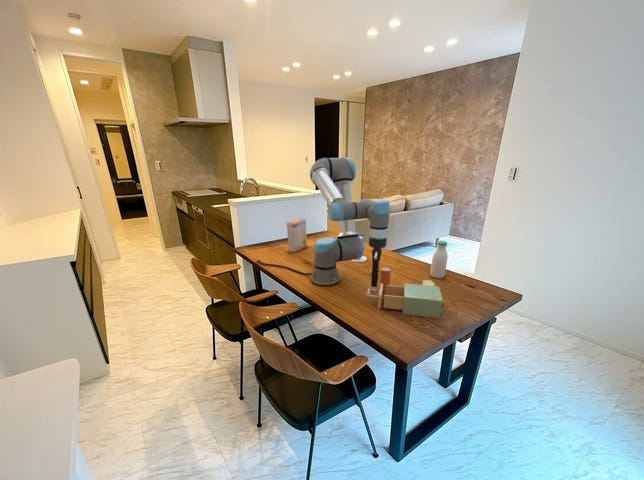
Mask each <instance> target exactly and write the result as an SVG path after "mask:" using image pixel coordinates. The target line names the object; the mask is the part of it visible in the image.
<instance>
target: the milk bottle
mask: <svg viewBox="0 0 644 480" xmlns="http://www.w3.org/2000/svg"><path fill="white" fill-rule="evenodd" d="M447 246H448V242H447V241H445V240H439V241H438V242H437V248H436V249H435V251H434V252H433V255H432V258H431V266H430V271H429V276H430V277H431V278H435V279H443V278H444V277H445V275H446V270H447V265H448V264H447V263H448V258H449V257H448V252H447Z"/></svg>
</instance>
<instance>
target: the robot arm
mask: <svg viewBox="0 0 644 480" xmlns="http://www.w3.org/2000/svg"><path fill="white" fill-rule="evenodd" d="M356 174H357V171H356V165H355V163H354V161H353V160H352V158H350V157H343V156H342V157H322V158H319V159H318V160H316V161H315V162H313V164H312V165H311V167H310V171H309V179H310V180H311V183H312V184H313V185H314V186H315V187H317V188H318V190H319V192H320V194H321V195H322V197H323V199H324V200H325V202H326V204H327V205H328V206H327V216H328V219H329V220H330V221H331V222H338V223H337V224H338V232H339V233H338V234H337V236H336V237H332V236H327V237H326V236H325V237H321V238H318V239H317V240H316V241H315V243H314V244H313V245H314V247H313V255H314V256H313V257H314V258H313V259H314V268H313V271H312V272H304V271H303V272H302V271H300V270H297V269H294V268H292V267H289V266H285V265H281V264H274V263H266V262H262V260H260V259H258V260H256V263H260V264H261V265H264V266H271V267H279V268H284V269H288V270H290V271H292V272H296V273H298V274H301V275H304V276H311V283H312V284H314V285H316V286H318V287H332V286H335V285H337V284H338V283H339V282H340V275H339V271H338V268H337V263H340V262H347V261H351V260H355V259H359V258H361V257H362V256H364V252H365V242H364V241H363V240H364V238H363V239H362V238H360V237H359V233H358V232H357V231H356V225H355V223H356V222H355V220H365V219H366V220H369V232H368V236H369V237H368V247H370V248H372V250H371V256H372V257H371V260H372V266H371V272H370V275H371V283H370V287H372V288H378V283H379V282H378V281H379V273H380V274H381V270H379V269H380V261H381V257H382V251H383V249H384V248H386V247H387V241H388V238H387V237H388V233H390V230H389V221H390V213H391V203H390V201H389V200H387V199H382V198H381V199H379V198H377V199H373V200H370V199H368V198H363V199H361V200H359V201H353V197H352V190H351V186H352V184H353V183H354V182H353V181H354V180H355V179H356V176H357V175H356Z"/></svg>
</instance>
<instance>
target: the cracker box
mask: <svg viewBox="0 0 644 480" xmlns="http://www.w3.org/2000/svg"><path fill="white" fill-rule="evenodd" d="M286 232H287V233H286V234H287V247H288V252H290V253H294V254H295V253H298V252H299V251H302V250H304V249H306V248H307V247H308V241H307V219H306V218H302V217H299V218H296V219H293V220H290V221H289V220H288V221H287V222H286Z"/></svg>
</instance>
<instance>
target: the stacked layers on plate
mask: <svg viewBox="0 0 644 480" xmlns="http://www.w3.org/2000/svg"><path fill="white" fill-rule="evenodd" d="M422 285H426V286H436V284H435V283H434V282H433V281H432V279H431V280H429V279H428V280H427V279H423V280H422Z"/></svg>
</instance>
